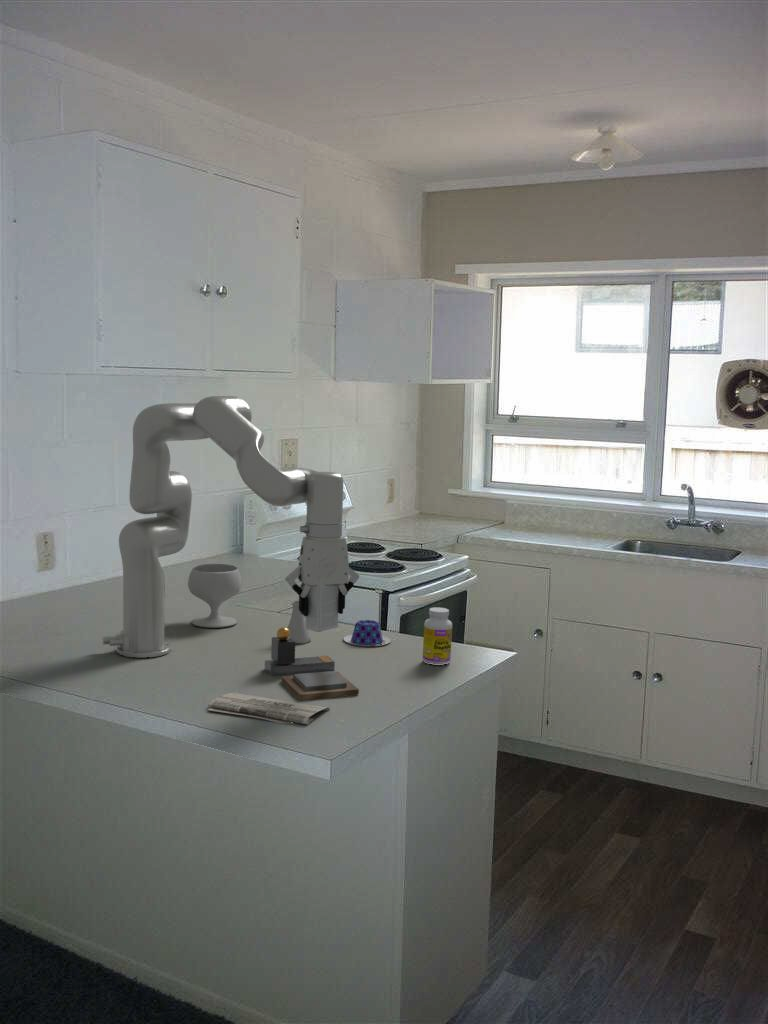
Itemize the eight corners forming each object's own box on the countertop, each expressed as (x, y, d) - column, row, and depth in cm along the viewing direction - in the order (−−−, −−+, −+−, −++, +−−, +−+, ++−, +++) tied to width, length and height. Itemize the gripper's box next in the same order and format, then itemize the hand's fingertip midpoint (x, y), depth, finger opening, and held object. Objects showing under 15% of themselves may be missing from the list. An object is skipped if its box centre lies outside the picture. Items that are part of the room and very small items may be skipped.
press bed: (299, 700, 208) (300, 690, 208) (281, 681, 220) (281, 672, 220) (358, 694, 213) (358, 685, 213) (337, 676, 225) (338, 667, 225)
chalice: (227, 615, 277) (228, 561, 275) (249, 626, 266) (250, 570, 264) (179, 620, 270) (179, 565, 268) (200, 632, 258) (200, 574, 256)
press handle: (277, 664, 224) (278, 630, 223) (271, 658, 229) (271, 625, 228) (294, 663, 226) (295, 629, 225) (288, 657, 230) (288, 624, 229)
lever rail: (270, 675, 224) (270, 666, 224) (264, 669, 229) (264, 660, 228) (334, 670, 230) (334, 661, 230) (327, 664, 234) (327, 655, 234)
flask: (306, 645, 250) (308, 606, 248) (278, 643, 251) (279, 603, 250) (314, 638, 257) (315, 600, 255) (287, 636, 258) (288, 597, 257)
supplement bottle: (431, 667, 235) (433, 613, 233) (417, 660, 240) (419, 607, 239) (455, 664, 238) (458, 611, 236) (441, 657, 244) (443, 605, 242)
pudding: (334, 639, 257) (335, 619, 257) (373, 634, 264) (374, 614, 263) (360, 651, 248) (361, 630, 247) (400, 645, 254) (400, 624, 254)
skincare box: (323, 624, 218) (325, 569, 217) (338, 627, 216) (339, 572, 214) (304, 628, 214) (305, 573, 212) (318, 632, 211) (320, 576, 209)
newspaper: (202, 714, 199) (203, 702, 199) (233, 703, 211) (234, 691, 211) (306, 732, 191) (307, 718, 191) (332, 719, 203) (333, 706, 203)
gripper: (289, 535, 205) (287, 620, 207) (369, 532, 212) (366, 615, 214) (279, 529, 212) (277, 611, 214) (356, 527, 219) (353, 607, 221)
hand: (321, 612), depth 214 cm, fingers closed on skincare box, 7 cm apart
